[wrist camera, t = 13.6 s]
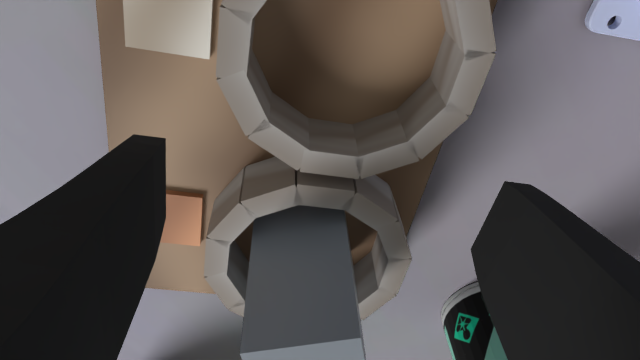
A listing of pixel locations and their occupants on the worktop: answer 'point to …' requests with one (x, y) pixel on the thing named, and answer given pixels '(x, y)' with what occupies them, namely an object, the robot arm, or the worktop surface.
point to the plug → (301, 288)
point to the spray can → (470, 327)
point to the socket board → (299, 69)
